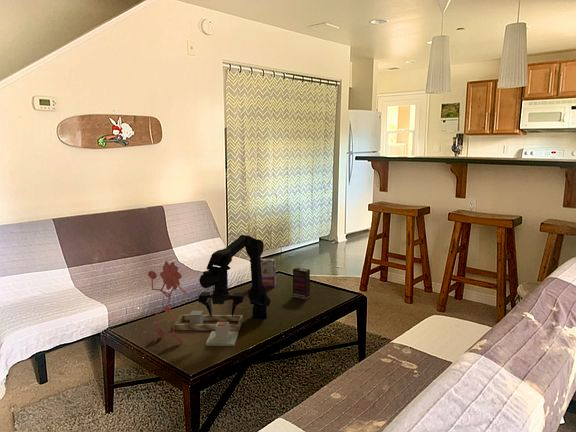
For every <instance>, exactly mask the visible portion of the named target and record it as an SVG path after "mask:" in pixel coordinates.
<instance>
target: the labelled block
mask: <svg viewBox="0 0 576 432" xmlns="http://www.w3.org/2000/svg"><path fill="white" fill-rule="evenodd" d="M215 324H216V326H215V330H214V331H215V335H216V340H227V339H228V337H229V325H230V321H217V322H216V323H215Z"/></svg>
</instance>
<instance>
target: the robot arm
mask: <svg viewBox="0 0 576 432" xmlns="http://www.w3.org/2000/svg"><path fill="white" fill-rule="evenodd" d="M264 246H265V245H264V241H263V239H257V238H255V237H253V236H251V235H245V234H240V235H239V236H238V237H237V239H235V240H234V241H232V242H231V243H230V244H229V245H227V246H226V247H225V248H221V249H219V250H216V251H214V252H213V253H212V254H211V255H210V258H209V261H208V264H207V266H206V270H204V271H202V275H200V277H199V279H198V280H199V285H200V286H201V287H202V288H203V289H208V288H211V287H213V290H212V294H211V292H209V291H201V292H200V293H199V295H198V297H197V299H198V300H197V301H198V303H201V305H204V306H205V308H206V309H207V312H208V315H210V317H211V316H212V315H213V309H212V305H223V304H225V302H227V301H229V300H231V301H232V303H231V304H232V305H231V306H232V307H231V315H232V317H233V315H235V310H236V307H237V306H238V305H240V304H242V303H243V301H244V299H245V295H244V293H243V292H234V293H233V294H230V293H229V284H228V281H229V280H228V279H229V278H228V275H229V274H228V271H229V270H231V267H230V264H231V262H232V261H233V257H234V256H235V255H237V254H238V253H239V252H240V251H242V250H243V249H244V248H245V252H246V254H247V256H248V257H249V263H250V274H251V276H250V277H251V287H250V289H248V291H247V293H248V300H249V302H250V303H249V304H250V305H253V306H252V317H253V319H267V318H268V307H270V305H271V298H270V297H269V296H268V295H267V289H266V287H263V285H262V273H261V259H262V258H261V256H262V254H263V253H264V248H265V247H264Z"/></svg>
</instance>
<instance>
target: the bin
mask: <svg viewBox="0 0 576 432" xmlns="http://www.w3.org/2000/svg"><path fill="white" fill-rule="evenodd" d="M183 321H190V314H180V315H179V317H178V318H177V320H175V321H174V330H175V331H215V326H216V324H217V323H203V324H190V323H182V322H183ZM203 321H205V322H206V321H212V322H213V321H215V322H216V321H217V322H237V324H229V331H238V332H239V331H240V329H241V326H242V325H243V321H244V315H243V314H234V315H233V317H232V314H212V316H211V317H210V314H203Z"/></svg>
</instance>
